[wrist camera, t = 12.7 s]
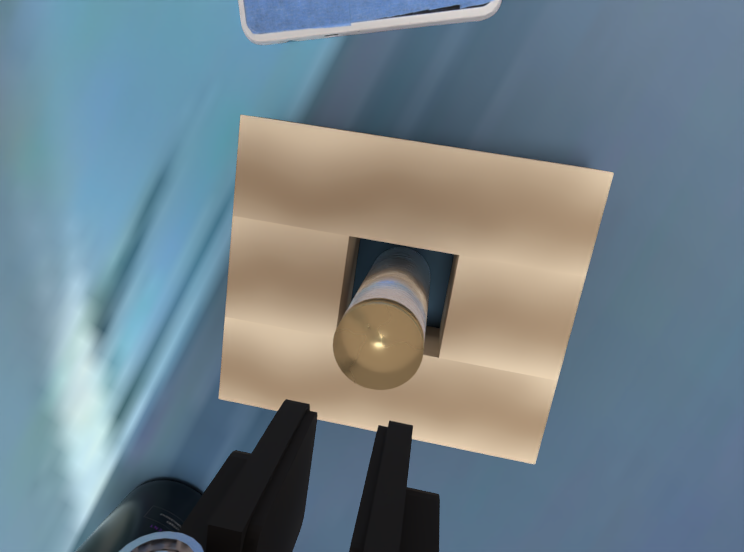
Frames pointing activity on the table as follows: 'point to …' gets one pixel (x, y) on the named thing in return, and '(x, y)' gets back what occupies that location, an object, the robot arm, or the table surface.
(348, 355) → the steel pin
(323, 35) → the tablet computer
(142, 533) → the supplement bottle
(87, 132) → the table surface
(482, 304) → the block
